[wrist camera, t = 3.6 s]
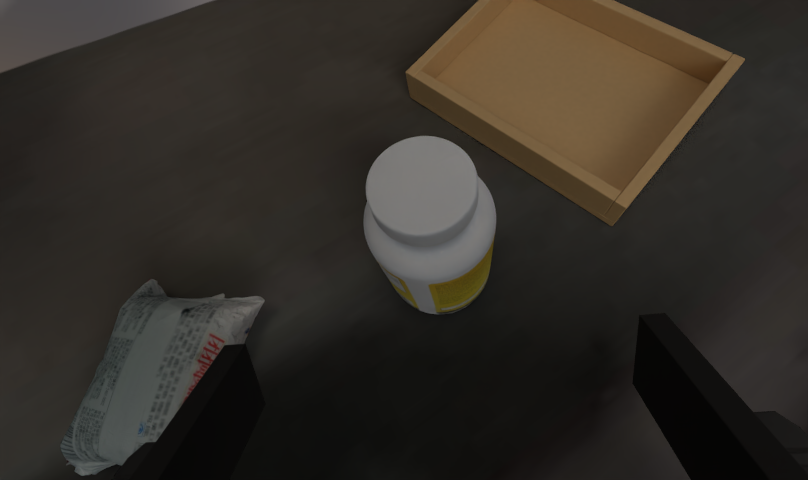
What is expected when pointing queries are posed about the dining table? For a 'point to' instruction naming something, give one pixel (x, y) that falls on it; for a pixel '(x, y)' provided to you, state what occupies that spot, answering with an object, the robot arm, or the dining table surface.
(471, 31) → the tray
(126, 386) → the packaged food
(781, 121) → the dining table surface
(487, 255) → the pill bottle
